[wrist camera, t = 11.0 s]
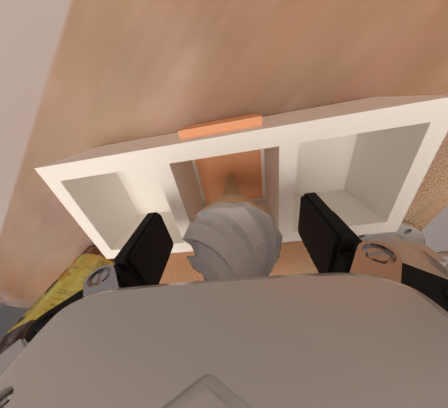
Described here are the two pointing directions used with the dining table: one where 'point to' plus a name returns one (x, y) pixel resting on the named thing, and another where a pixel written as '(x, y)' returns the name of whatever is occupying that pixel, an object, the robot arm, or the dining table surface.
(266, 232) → the ice cream cone
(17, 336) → the sauce bottle
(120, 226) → the compartment tray
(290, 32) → the dining table surface
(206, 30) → the dining table surface
